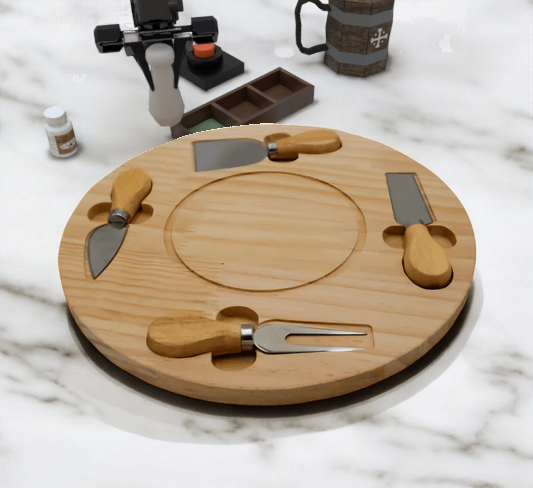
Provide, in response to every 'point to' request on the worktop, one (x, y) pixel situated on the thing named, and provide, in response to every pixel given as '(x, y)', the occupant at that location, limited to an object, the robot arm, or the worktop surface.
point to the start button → (204, 50)
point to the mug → (352, 35)
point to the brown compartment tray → (250, 104)
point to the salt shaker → (163, 86)
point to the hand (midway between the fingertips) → (164, 89)
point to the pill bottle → (60, 132)
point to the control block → (210, 68)
